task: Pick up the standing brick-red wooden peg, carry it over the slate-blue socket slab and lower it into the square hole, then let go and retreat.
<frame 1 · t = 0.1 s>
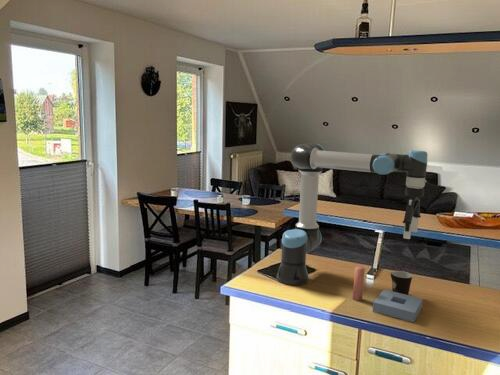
hand: (410, 235, 182), 28 cm above the worktop, fingers open, 13 cm apart
coffee mug: (399, 294, 188), on the worktop
peg: (357, 298, 182), on the worktop
socket slab: (397, 309, 173), on the worktop
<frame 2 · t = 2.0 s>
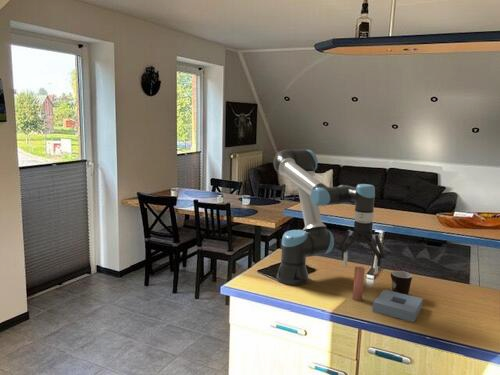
hand: (360, 269, 179), 13 cm above the worktop, fingers open, 13 cm apart
nothing on the worktop moved.
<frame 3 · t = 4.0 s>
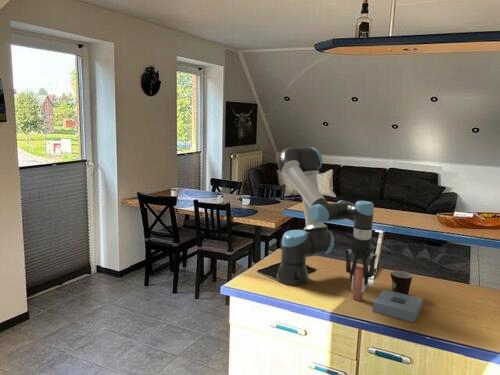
hand: (358, 289, 181), 4 cm above the worktop, fingers closed on peg, 4 cm apart
peg: (357, 298, 182), on the worktop, touching gripper
everything else where it was.
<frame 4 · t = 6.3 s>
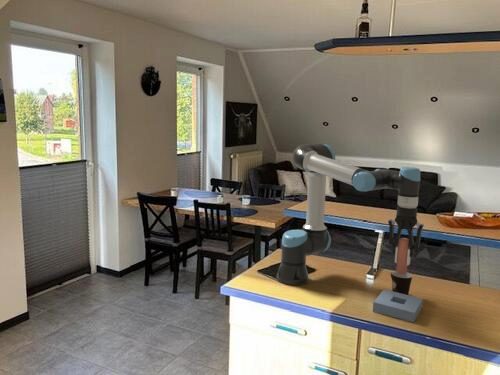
hand: (402, 262, 170), 20 cm above the worktop, fingers closed on peg, 4 cm apart
peg: (401, 272, 170), point 16 cm above the worktop, touching gripper
everything else where it was.
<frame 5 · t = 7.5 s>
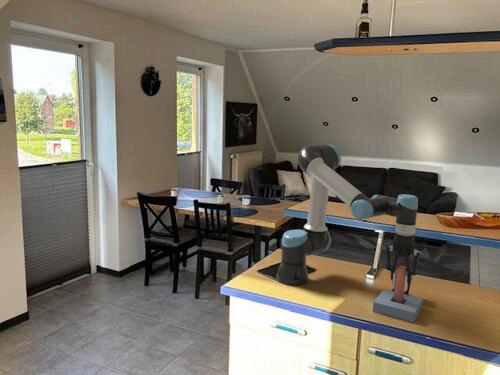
hand: (399, 288, 171), 9 cm above the worktop, fingers closed on peg, 4 cm apart
peg: (398, 300, 172), point 4 cm above the worktop, touching gripper
everything else where it was.
when the fingers open (6 cm above the worktop, at t = 8.7 s): peg stays where it is, resting in socket slab.
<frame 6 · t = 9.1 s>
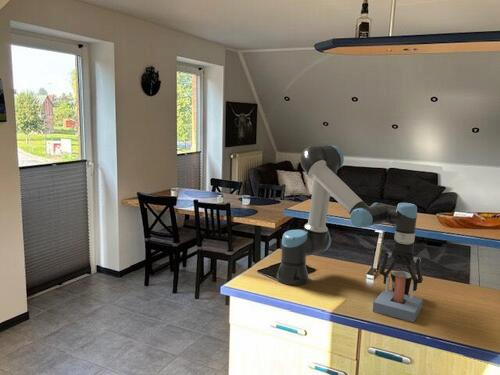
hand: (399, 294, 172), 7 cm above the worktop, fingers open, 9 cm apart
peg: (397, 309, 173), resting in socket slab
everything else where it was.
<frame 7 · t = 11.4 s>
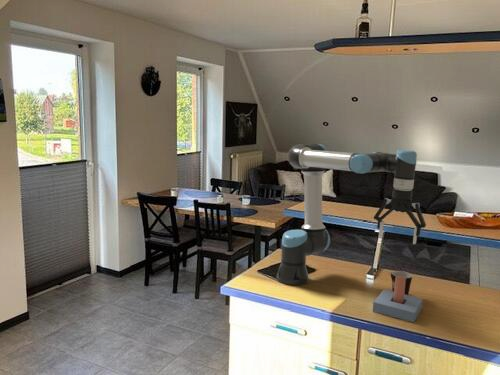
hand: (397, 239, 172), 29 cm above the worktop, fingers open, 13 cm apart
nothing on the worktop moved.
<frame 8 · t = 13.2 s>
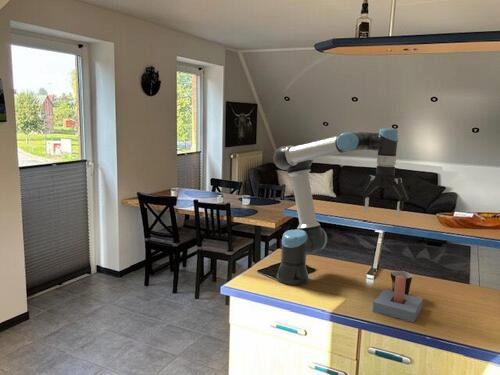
hand: (381, 214, 181), 37 cm above the worktop, fingers open, 13 cm apart
nothing on the worktop moved.
at the end: peg 0.0 cm off-centre on the socket slab, point 0.0 cm above the socket slab's base; peg tilted 0°; the gripper is holding nothing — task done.
